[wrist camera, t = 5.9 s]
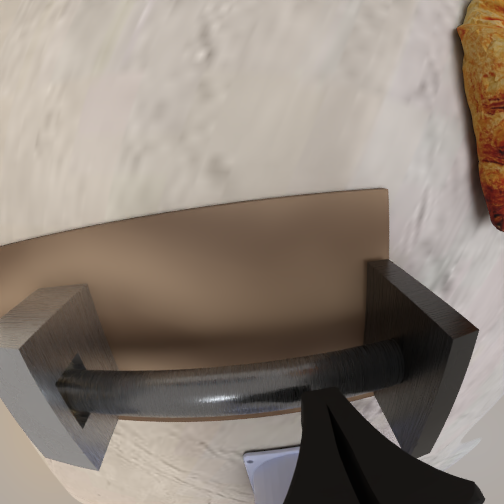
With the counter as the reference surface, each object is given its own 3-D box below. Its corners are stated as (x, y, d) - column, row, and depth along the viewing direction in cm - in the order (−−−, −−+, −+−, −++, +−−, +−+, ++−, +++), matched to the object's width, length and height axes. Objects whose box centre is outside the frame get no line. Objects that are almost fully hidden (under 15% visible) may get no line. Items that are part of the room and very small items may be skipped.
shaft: (378, 365, 16) (429, 452, 9) (110, 392, 16) (71, 478, 9) (387, 258, 14) (479, 329, 7) (70, 297, 14) (-7, 374, 7)
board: (371, 390, 18) (373, 395, 18) (43, 403, 18) (41, 408, 18) (382, 188, 14) (388, 189, 14) (-22, 252, 14) (-27, 254, 14)
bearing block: (129, 392, 17) (98, 471, 10) (82, 389, 17) (45, 457, 10) (87, 283, 15) (18, 349, 8) (38, 288, 15) (-30, 344, 8)
